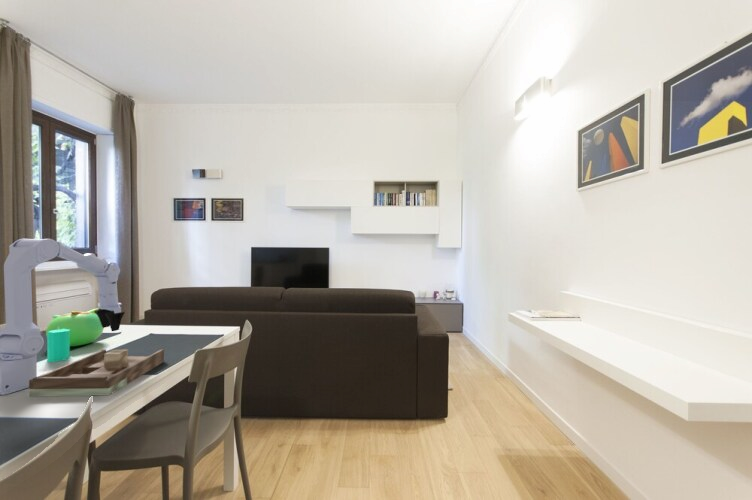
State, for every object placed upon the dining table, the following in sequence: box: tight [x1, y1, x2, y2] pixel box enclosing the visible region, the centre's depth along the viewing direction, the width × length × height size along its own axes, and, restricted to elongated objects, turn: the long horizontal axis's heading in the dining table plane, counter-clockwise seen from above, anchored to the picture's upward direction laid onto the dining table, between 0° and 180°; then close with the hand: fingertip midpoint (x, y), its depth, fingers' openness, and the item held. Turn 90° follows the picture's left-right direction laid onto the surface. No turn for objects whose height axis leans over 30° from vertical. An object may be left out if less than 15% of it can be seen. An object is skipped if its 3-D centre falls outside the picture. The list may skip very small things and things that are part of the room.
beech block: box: [104, 349, 129, 368], centre depth 115 cm, size 4×4×4 cm
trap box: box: [28, 348, 165, 397], centre depth 110 cm, size 28×21×5 cm
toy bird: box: [45, 307, 104, 348], centre depth 143 cm, size 18×17×15 cm
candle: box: [46, 326, 71, 363], centre depth 126 cm, size 6×6×12 cm
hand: (110, 328), depth 132 cm, fingers open, 7 cm apart
